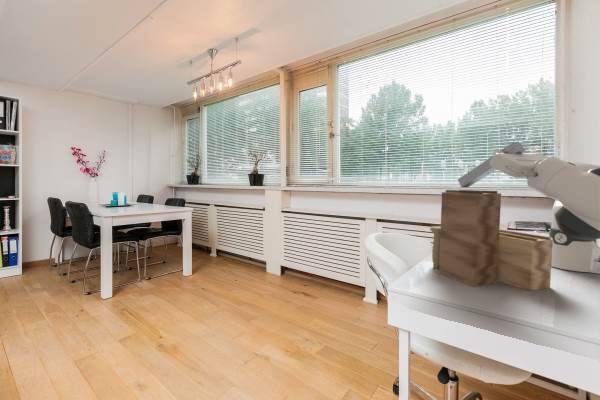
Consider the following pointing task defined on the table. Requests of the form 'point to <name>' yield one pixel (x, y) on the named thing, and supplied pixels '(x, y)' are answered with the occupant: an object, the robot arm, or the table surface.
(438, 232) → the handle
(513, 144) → the bar
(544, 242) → the light wood grain block
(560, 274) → the table surface
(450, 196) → the tall wood grain block
